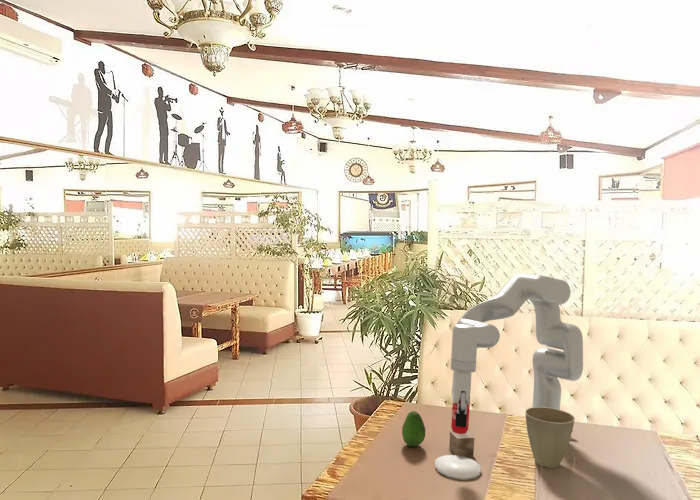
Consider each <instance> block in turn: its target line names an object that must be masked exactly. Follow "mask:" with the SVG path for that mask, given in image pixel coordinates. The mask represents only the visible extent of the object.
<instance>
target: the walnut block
mask: <svg viewBox="0 0 700 500" xmlns="http://www.w3.org/2000/svg"><path fill="white" fill-rule="evenodd" d="M448 445H449V446H448V447H449V448H450V449H451V450H452V451H451V450H450V449H449V448H448V449H449V450H450V451H451V452H452V454H453V455H458V456H463V457H468V456H474V449H475V437H474V436H473V435H472V434H471V433H470V432H469V430H468V431H467V433H466V434H457V433H454V432H453V431H452V430H451V431H449V444H448Z"/></svg>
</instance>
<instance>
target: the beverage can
mask: <svg viewBox="0 0 700 500" xmlns="http://www.w3.org/2000/svg"><path fill="white" fill-rule="evenodd" d="M459 403H461V401H459ZM470 403H471V400H470V401H469V404H468V405H467V410H466V414H467V421H466V427H457V426H456V425H455V422H456V413H457V403H455V404H454V403H453V402H452V403H451V404H452V406H451V409H452V410H451V425H450V426H451V431H453V432H454V433H457V434H466V433H467V431H468V432H469V425H470V424H469V422H470V407H471V406H470V405H471V404H470ZM459 407H461V405H459Z"/></svg>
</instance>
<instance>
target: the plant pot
mask: <svg viewBox="0 0 700 500" xmlns="http://www.w3.org/2000/svg"><path fill="white" fill-rule="evenodd" d="M532 407H533V406H532ZM532 407H529V408H526V409H525V411H524V413H525V414H524V415H525V423H526V432H527V431H528V432H527V435H528V440H529V445H530V449H531V453H532V455H533V459H534V461H535V463H536V465H539V466H541V467H544V468H547V469H555V468H559V466H560V465H561V464H562V461H563V459H564V457H565V454H566V451H567V449H568V446H569V444H570V440H571V437H572V434H573V431H574V430H573V429H574V424H575V419H576V418H575V416H574V415H573V414H571V413H569V412H567V411H565V410H561V409H560V410H558V409H554V408H547V407H533V408H532ZM572 430H573V431H572Z"/></svg>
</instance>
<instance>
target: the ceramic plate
mask: <svg viewBox="0 0 700 500" xmlns="http://www.w3.org/2000/svg"><path fill="white" fill-rule="evenodd" d="M434 468H436V469H437V470H438V471H439V472H440V473H441V474H440V473H439V472H438V471H437V470H436V469H435V470H436V471H437V472H438V473H439V474H440V475H442V474H443V475H442V476H444V475H445V476H444V477H447V478H450V479H454V480H462V481H463V480H464V481H465V480H473V479H476V478H478V477H480V476H481V473H482V467H481V465H480V464H479V462H477V461H476V460H475V459H472V458H470V457H468V456H458V455H455V454H447V455H441V456H439V457H437V458H436V459H435V460H434Z"/></svg>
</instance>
